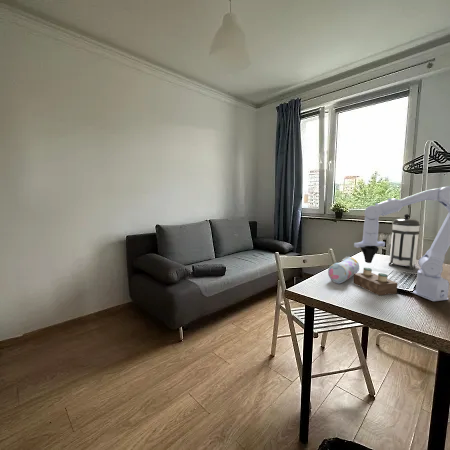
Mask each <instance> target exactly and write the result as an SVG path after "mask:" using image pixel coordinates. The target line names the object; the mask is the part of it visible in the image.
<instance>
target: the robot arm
mask: <svg viewBox="0 0 450 450" xmlns="http://www.w3.org/2000/svg"><path fill="white" fill-rule="evenodd" d="M423 201H436V202H439V203H441V204H442V205H443V207H444V208H445V210H446V211H447V212H448V213H447V215H446V217H445V219H444V220H443V222H442V224H441V226H440V228H439V230H438V231H437V234H436V235H435V237H434V239H433V242H432V243H431V245H430V247H429V249H428V250H427V251H426V252H425V253H424V255H423V256H421V257H420V258H419V259H418V266H419V267H420V268H419V269H418V270H417V273H416V284H415V285H416V286H415V289H414V291H413V292H410V293H412V294H414V295H417V296H419V297H422V298H424V299H426V300H429V301H430V302H431V301H432V302H439V301H447V300H449V299H450V298H449V297H448V296H449V288H450V287H449V286H450V283H449V281H448V279H446V278H443V276H442V273H443V271H444V270H443V269H444V268H443V264H444V263H445V258H446V256H445V255H446V254H447V252H448V250H449V248H450V185H447V186H445V185H444V186H440V187H439V188H438V187H436V188H431V189H427V190H424V191H421V192H417V193H415V194H413V195H412V194H411V195H410V196H409V195H408V196H406V197H404V198H401V199H397V198H395V197H393V198H391V197H390V198H387V199H386V200H384V201H381V202H379V203H378V202H375V203H374V205H369V206H367V207H366V208H365V210H364V222H363V228H362V229H363V232H362V240H361V241H359V242H354V243H353V248H357V249H359V248H360V250H361V252H362V253H363V258H364V261H365V263H367V264H371V263H372V261H373V259H374V257H375V255H376V253H377V252H378V251H379V247H385V246H386V242H385V241H380V240H379V241H378V239H379V231H380V230H379V228H380V222H379V220H380V219H379V218H380V216H381V217H384V216H388V215H390V214H395V213H398V212H400V211H401V209H402V208H403V207H405V206H409V205H413V204H416V203H420V202H423Z"/></svg>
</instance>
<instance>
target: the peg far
mask: <svg viewBox="0 0 450 450" xmlns="http://www.w3.org/2000/svg"><path fill="white" fill-rule="evenodd" d="M362 271H363V272H362V273H363V275H364V276H366V277H371V273H373V272H372V271H373V268H369V267H363V270H362Z"/></svg>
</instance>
